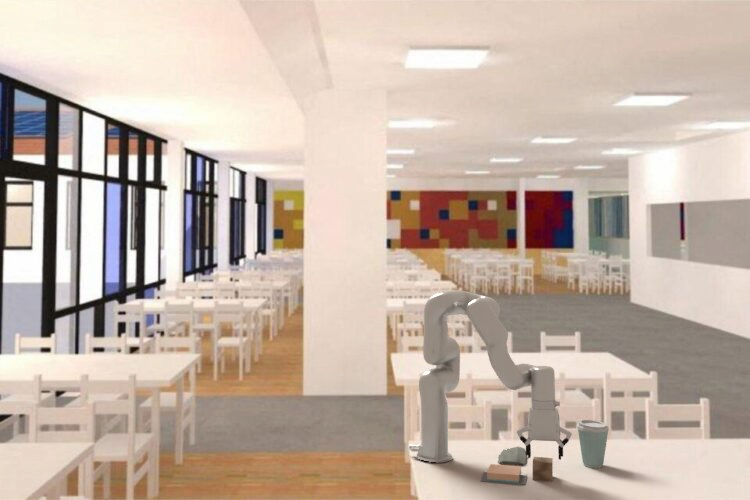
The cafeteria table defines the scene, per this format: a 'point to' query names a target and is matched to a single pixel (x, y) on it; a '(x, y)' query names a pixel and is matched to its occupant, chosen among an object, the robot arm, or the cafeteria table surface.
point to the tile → (504, 473)
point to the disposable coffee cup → (592, 442)
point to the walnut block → (542, 469)
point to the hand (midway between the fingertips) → (544, 457)
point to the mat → (521, 482)
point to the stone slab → (513, 456)
